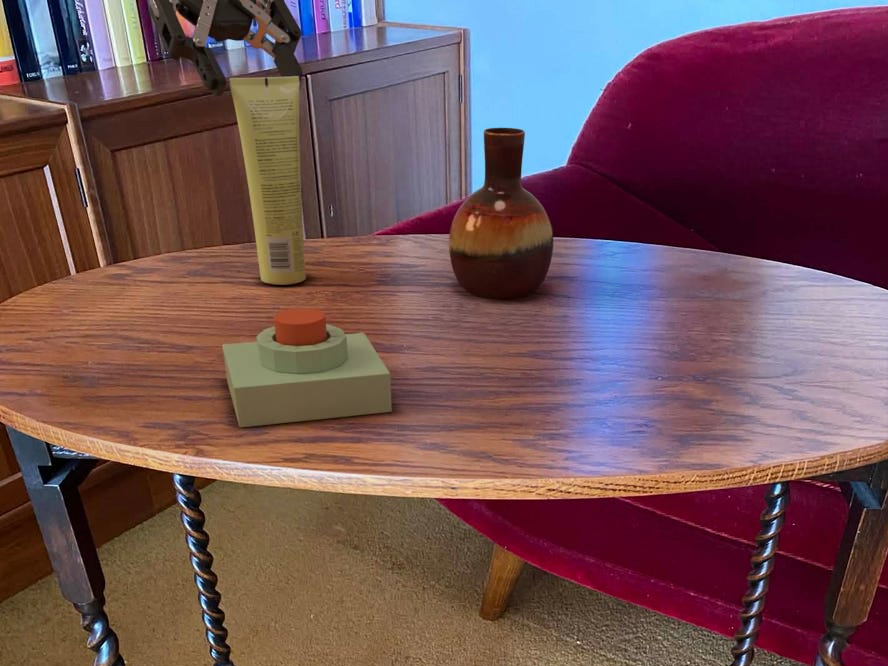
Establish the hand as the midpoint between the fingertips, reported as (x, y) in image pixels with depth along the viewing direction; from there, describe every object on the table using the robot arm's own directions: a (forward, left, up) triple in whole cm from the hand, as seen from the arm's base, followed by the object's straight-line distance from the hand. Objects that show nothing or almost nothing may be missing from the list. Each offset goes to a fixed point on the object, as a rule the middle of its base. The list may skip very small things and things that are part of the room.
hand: (259, 87), depth 96 cm
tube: (+1, -1, -19) cm, 19 cm away
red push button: (-2, -35, -14) cm, 38 cm away
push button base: (-2, -35, -18) cm, 40 cm away
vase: (+23, -10, -19) cm, 31 cm away
